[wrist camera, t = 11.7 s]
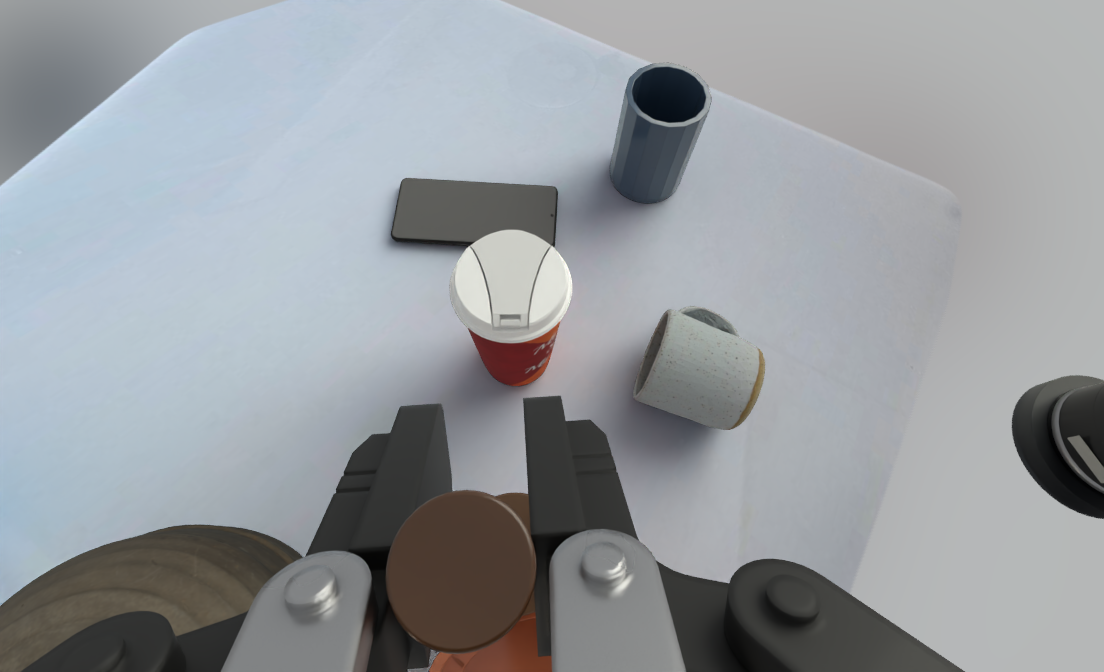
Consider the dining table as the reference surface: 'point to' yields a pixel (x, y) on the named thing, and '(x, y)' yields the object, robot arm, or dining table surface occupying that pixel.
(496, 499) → the brown wooden plunger
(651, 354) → the ceramic mug
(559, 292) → the paper cup
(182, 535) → the pot
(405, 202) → the smartphone
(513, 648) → the mixing bowl
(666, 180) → the crock
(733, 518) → the dining table surface
